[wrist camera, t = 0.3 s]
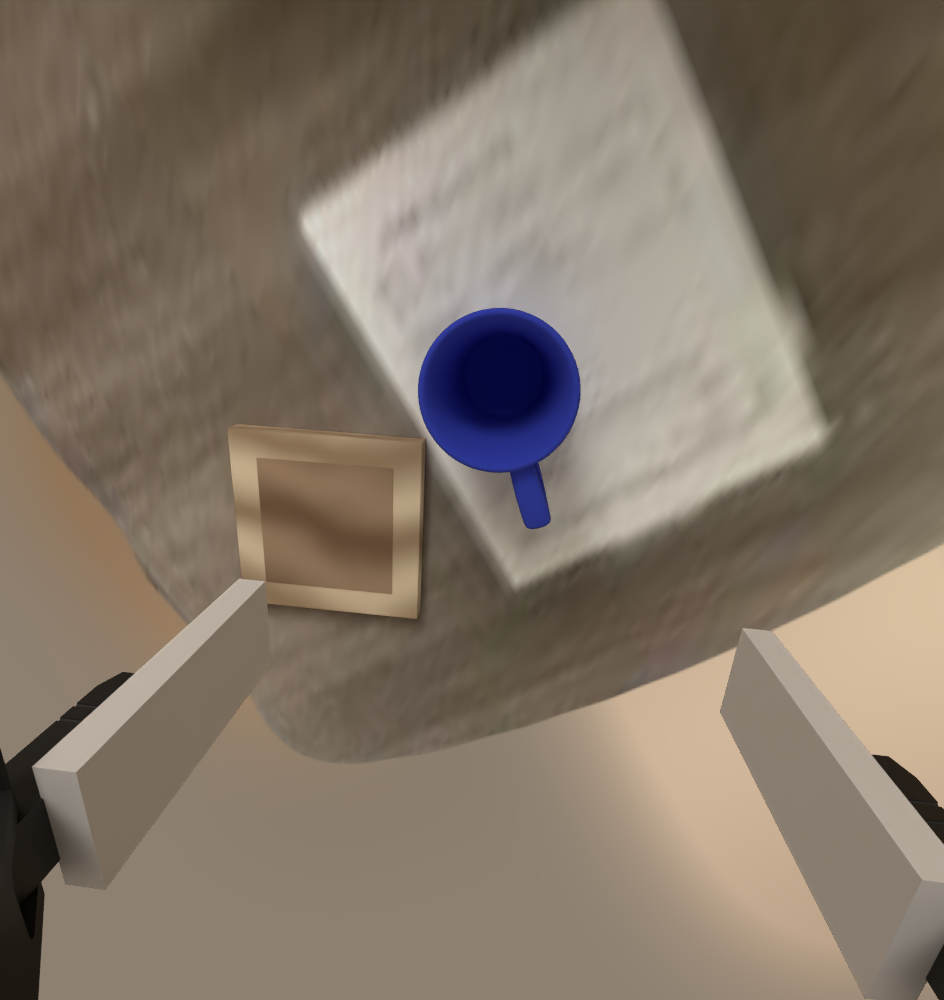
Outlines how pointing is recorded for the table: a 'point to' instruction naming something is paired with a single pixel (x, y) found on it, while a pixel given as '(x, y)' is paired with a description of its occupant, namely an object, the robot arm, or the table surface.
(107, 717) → the robot arm
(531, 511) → the mug
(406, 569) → the trivet
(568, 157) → the table surface
